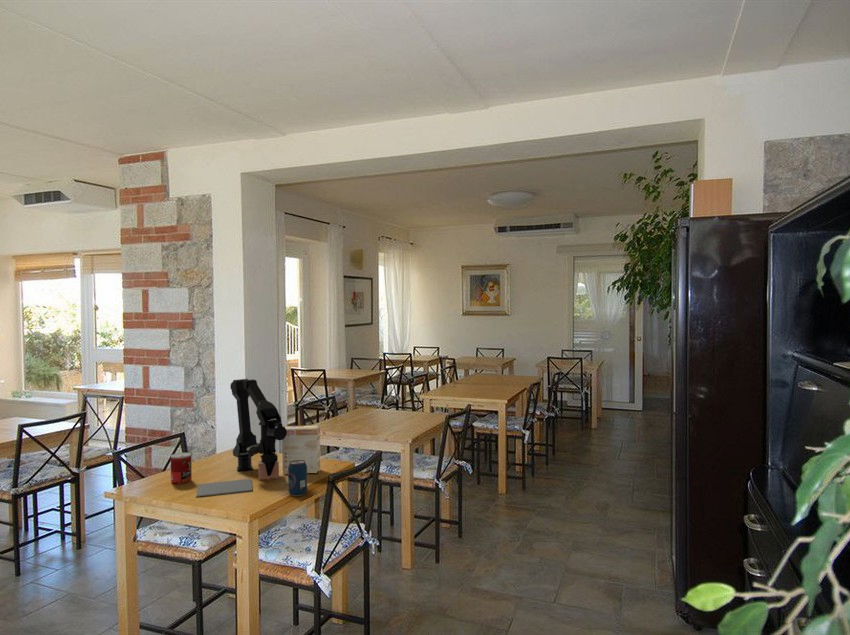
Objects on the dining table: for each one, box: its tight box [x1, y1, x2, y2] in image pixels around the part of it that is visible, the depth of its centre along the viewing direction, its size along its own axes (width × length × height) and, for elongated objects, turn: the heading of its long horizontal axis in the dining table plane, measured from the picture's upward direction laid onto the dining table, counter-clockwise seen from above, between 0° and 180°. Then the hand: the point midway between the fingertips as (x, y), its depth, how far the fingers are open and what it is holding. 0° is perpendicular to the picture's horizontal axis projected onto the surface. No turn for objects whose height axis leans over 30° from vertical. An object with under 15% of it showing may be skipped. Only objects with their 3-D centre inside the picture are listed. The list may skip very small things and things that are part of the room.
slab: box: [257, 460, 280, 480], centre depth 232 cm, size 3×8×7 cm, turn 109°
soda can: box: [287, 460, 308, 497], centre depth 211 cm, size 7×7×12 cm
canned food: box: [170, 452, 193, 484], centre depth 230 cm, size 8×8×11 cm
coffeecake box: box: [281, 425, 322, 475], centre depth 241 cm, size 15×7×20 cm, turn 89°
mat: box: [195, 478, 254, 498], centre depth 219 cm, size 16×20×1 cm
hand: (268, 474), depth 232 cm, fingers open, 4 cm apart
